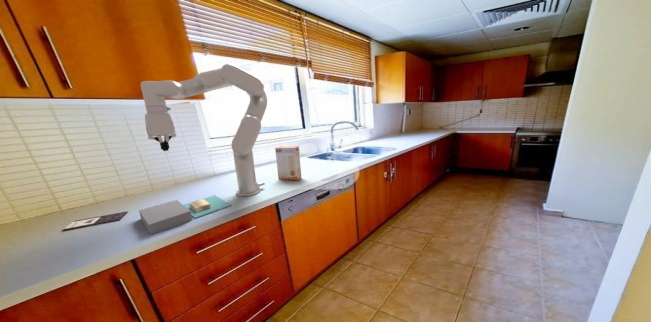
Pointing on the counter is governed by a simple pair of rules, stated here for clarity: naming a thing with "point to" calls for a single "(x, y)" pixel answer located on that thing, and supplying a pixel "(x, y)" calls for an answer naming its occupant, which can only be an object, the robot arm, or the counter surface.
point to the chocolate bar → (95, 221)
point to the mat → (214, 202)
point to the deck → (165, 216)
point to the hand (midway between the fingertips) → (165, 150)
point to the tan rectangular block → (200, 205)
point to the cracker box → (288, 162)
